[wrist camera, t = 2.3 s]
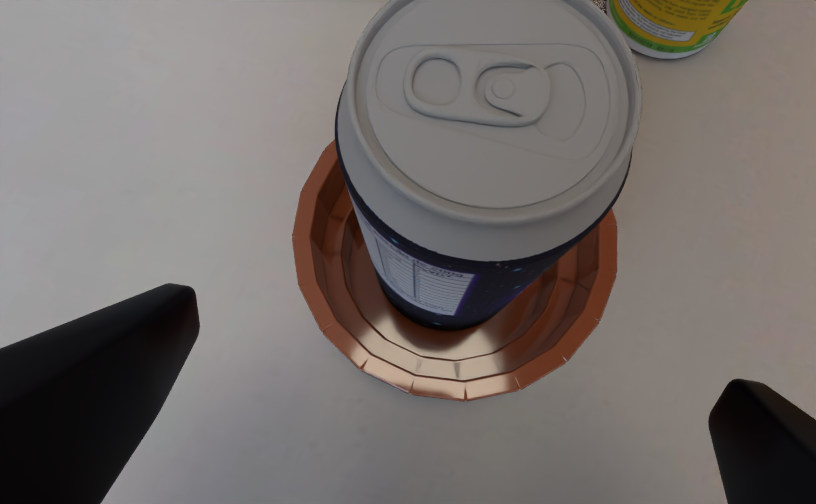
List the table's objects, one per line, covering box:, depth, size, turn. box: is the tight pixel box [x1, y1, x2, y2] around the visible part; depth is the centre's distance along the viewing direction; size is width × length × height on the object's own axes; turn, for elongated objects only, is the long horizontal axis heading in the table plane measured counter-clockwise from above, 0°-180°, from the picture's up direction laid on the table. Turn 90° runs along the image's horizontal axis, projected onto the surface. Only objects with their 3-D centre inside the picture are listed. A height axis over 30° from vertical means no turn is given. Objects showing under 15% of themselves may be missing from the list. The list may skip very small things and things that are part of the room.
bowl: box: [292, 140, 617, 401], centre depth 18 cm, size 10×10×4 cm
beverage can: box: [335, 0, 642, 331], centre depth 14 cm, size 6×6×12 cm
